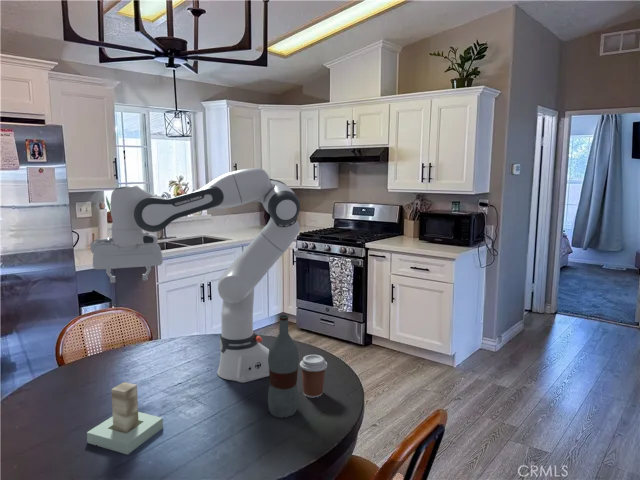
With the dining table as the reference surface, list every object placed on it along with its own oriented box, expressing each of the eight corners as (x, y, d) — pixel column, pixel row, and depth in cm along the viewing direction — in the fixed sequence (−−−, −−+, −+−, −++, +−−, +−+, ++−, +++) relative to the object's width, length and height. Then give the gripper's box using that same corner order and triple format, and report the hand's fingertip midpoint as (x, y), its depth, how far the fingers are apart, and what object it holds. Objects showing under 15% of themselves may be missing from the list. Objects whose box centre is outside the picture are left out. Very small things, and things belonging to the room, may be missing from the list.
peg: (126, 429, 129) (124, 382, 127) (138, 432, 127) (137, 384, 125) (113, 437, 124) (111, 389, 122) (126, 441, 123) (124, 392, 121)
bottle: (299, 404, 144) (301, 312, 140) (296, 419, 135) (297, 321, 131) (270, 402, 145) (270, 310, 141) (265, 417, 136) (265, 320, 132)
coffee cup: (317, 402, 146) (317, 366, 144) (293, 394, 150) (294, 360, 149) (331, 391, 153) (332, 357, 152) (309, 384, 158) (309, 351, 156)
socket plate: (125, 418, 134) (124, 408, 134) (163, 427, 130) (162, 417, 129) (87, 442, 122) (86, 432, 121) (127, 454, 117) (127, 443, 117)
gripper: (89, 240, 136) (92, 286, 138) (162, 237, 144) (163, 280, 146) (90, 237, 142) (92, 281, 144) (160, 235, 150) (161, 276, 152)
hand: (129, 281), depth 145 cm, fingers open, 8 cm apart
